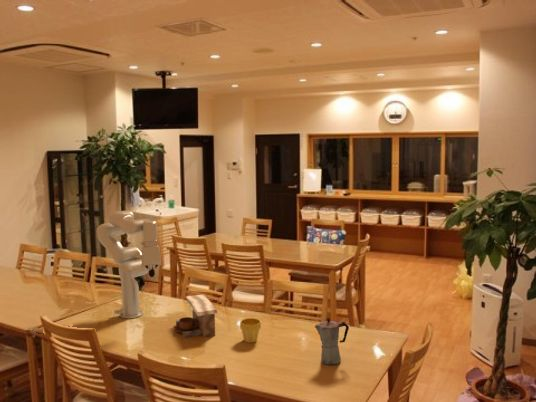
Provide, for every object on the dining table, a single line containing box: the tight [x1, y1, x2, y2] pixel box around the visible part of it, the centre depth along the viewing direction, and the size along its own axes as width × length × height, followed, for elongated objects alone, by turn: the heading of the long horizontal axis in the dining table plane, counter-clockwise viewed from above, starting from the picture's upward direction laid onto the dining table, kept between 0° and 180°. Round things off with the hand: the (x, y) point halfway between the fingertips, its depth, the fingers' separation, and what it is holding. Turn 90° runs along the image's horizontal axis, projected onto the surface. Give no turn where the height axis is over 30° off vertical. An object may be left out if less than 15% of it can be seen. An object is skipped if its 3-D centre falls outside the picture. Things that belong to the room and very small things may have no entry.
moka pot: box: [314, 318, 350, 366], centre depth 227 cm, size 10×15×20 cm, turn 95°
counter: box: [175, 294, 218, 338], centre depth 269 cm, size 17×28×14 cm, turn 21°
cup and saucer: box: [174, 316, 198, 334], centre depth 267 cm, size 12×12×6 cm
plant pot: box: [239, 317, 262, 344], centre depth 253 cm, size 10×10×10 cm
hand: (151, 276), depth 274 cm, fingers closed
